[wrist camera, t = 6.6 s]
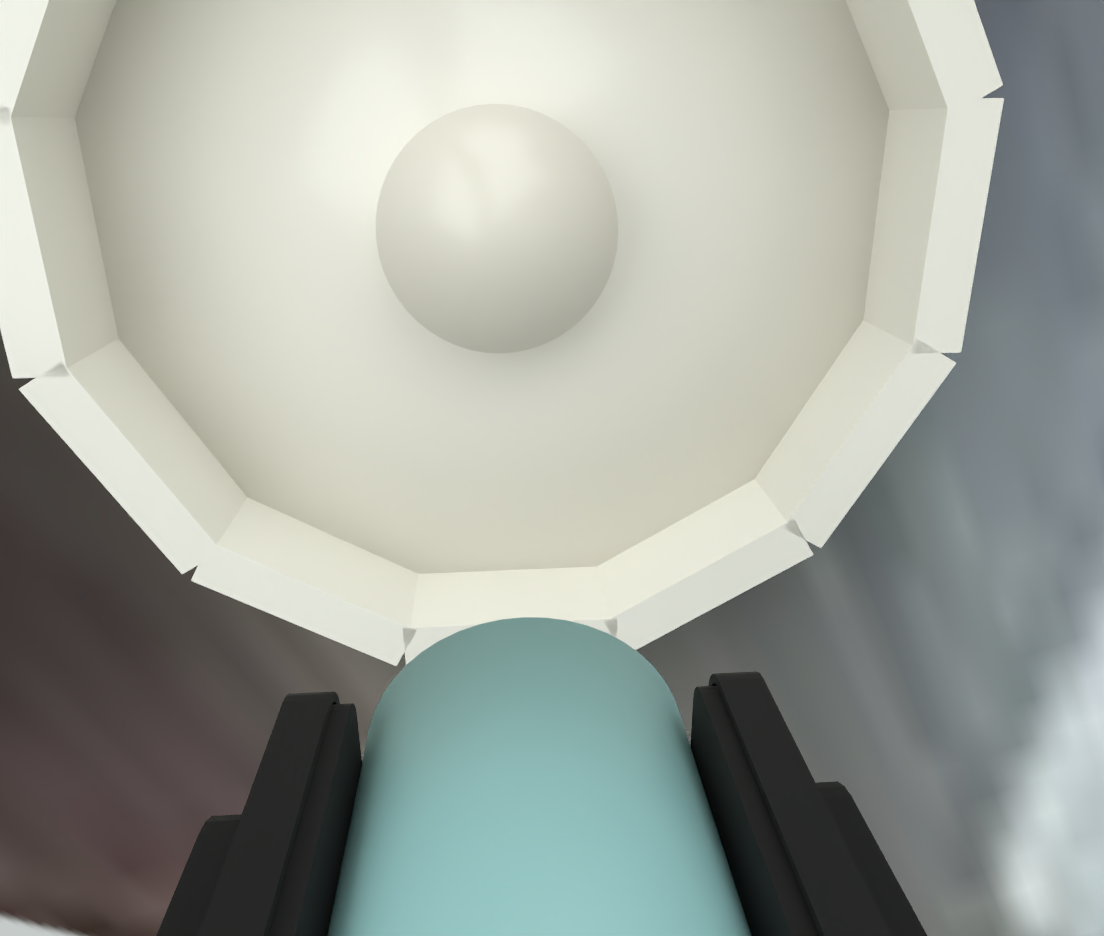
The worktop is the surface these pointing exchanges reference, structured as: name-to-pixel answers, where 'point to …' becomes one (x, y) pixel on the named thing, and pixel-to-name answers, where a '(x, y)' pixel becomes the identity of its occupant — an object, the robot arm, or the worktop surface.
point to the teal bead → (532, 797)
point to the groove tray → (461, 444)
